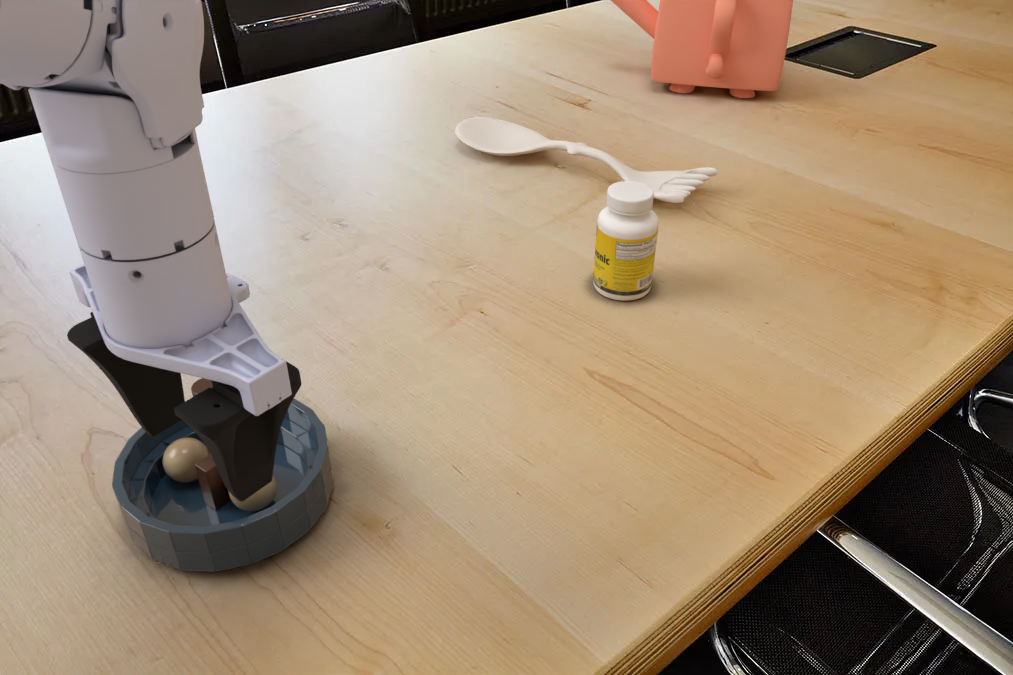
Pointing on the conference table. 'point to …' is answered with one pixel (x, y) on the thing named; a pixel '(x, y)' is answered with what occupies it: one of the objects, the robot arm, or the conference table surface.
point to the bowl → (230, 530)
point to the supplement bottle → (626, 242)
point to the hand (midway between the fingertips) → (207, 455)
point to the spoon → (521, 140)
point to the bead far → (183, 459)
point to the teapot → (715, 42)
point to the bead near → (257, 498)
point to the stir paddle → (210, 466)
